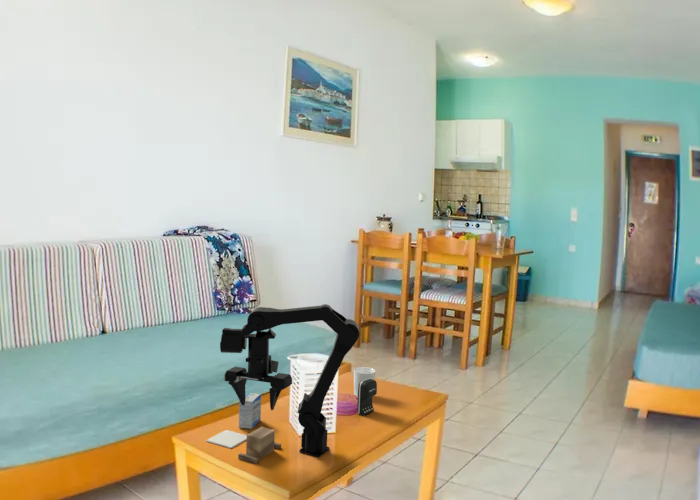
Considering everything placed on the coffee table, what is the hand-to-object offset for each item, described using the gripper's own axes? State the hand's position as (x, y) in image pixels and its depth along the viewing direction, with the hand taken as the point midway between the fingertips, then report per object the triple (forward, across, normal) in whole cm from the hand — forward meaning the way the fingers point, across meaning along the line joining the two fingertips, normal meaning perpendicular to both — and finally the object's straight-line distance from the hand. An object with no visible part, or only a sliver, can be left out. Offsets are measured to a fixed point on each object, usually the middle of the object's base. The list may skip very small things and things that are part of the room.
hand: (257, 407), depth 167 cm
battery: (+13, -19, -41) cm, 47 cm away
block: (+12, -2, +2) cm, 13 cm away
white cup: (+13, -13, -56) cm, 58 cm away
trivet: (+12, +10, -2) cm, 16 cm away
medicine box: (+12, +11, -15) cm, 22 cm away
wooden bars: (+12, -2, +2) cm, 12 cm away
